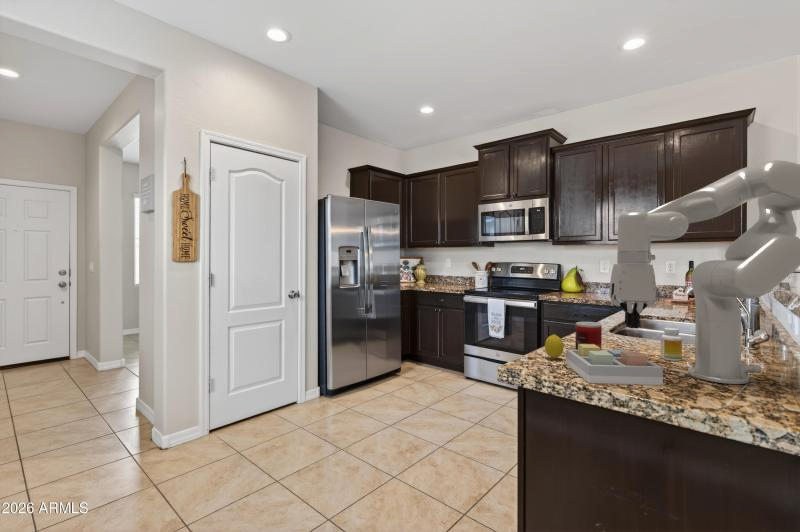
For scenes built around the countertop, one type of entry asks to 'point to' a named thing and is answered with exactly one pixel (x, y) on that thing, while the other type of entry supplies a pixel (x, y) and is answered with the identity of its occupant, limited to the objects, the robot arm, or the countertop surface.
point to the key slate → (615, 352)
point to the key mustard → (586, 349)
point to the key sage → (600, 358)
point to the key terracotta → (633, 358)
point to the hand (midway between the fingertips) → (632, 327)
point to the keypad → (615, 371)
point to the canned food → (588, 333)
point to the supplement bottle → (671, 345)
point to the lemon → (554, 346)
